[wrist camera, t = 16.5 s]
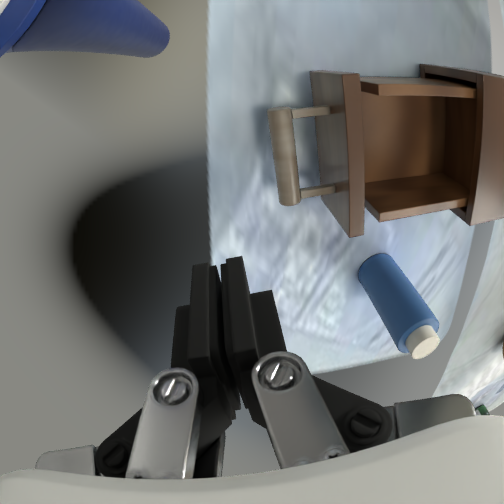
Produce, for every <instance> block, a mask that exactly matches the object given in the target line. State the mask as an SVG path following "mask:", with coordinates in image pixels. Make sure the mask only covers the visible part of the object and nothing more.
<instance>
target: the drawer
mask: <svg viewBox="0 0 504 504" xmlns="http://www.w3.org/2000/svg"><path fill="white" fill-rule="evenodd" d="M309 73H310V81H311V89H312V97H313V106H314V107H304V108H296V109H291V108H290V107H274V108H270V109H268V110H267V116H268V123H269V130H270V136H271V144H272V151H273V158H274V165H275V173H276V180H277V188H278V196H279V202H280V204H281V205H284V206H293V205H296V204H298V203H300V201H301V198H302V199H303V198H308V197H314V196H320V195H321V200H322V201H323V202H324V204H325V205H326V206H327V208H328V209H329V210H330V212H331V213H332V214H333V216H334V217H335V219H336V220H337V221H338V223H339V224H340V225H341V227H342V228H343V230H344V231H345V232H346V234H347V235H348V237H349V238H351V237H356V236H361V235H364V206H365V208H366V209H367V210H368V211H369V212H370V213H371V214H372V215H373V216H374V217H375V218H376V219H377V220H378V222H383V221H389V220H394V219H399V218H405V217H410V216H415V215H421V214H426V213H431V212H437V211H442V210H447V209H453V208H458V207H464V206H468V200H469V193H470V186H471V178H472V170H473V161H474V150H475V137H476V116H477V87H475V86H471V85H467V84H463V83H459V82H454V81H449V80H443V79H430V78H412V77H360V75H359V74H358V73H349V72H339V71H328V70H317V71H310V72H309ZM311 116H315V125H316V136H317V147H318V159H319V172H320V185H319V186H312V187H306V188H300V186H299V175H298V166H297V156H296V147H295V139H294V130H293V122H292V118H293V119H294V118H302V117H311Z"/></svg>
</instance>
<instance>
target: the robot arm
mask: <svg viewBox="0 0 504 504" xmlns="http://www.w3.org/2000/svg"><path fill="white" fill-rule="evenodd" d="M9 1H10V0H0V15H1V13H2V12H3V10H4V9H5V7H6V6H7V5H8V3H9ZM174 327H175V328H174V337H173V347H172V359H171V368H169V369H167V370H164V371H162V372H160V373H159V374H158V375H156V376H155V377H154V379H153V380H152V381H151V383H150V385H149V387H148V391H147V394H146V398H145V402H144V405H143V408H142V409H140V410H139V411H138V412H137V413H136V414H134V415H133V416H132V417H131V418H130V419H129V420H128V421H126V422H125V423H124V424H123V425H122V426H121V427H119V428H118V429H117V430H116V431H115V432H114V433H112V434H111V435H110V436H109V437H108V438H107V439H105V440H104V441H103V442H102V443H101V445H100V446H99V447H95V446H94V445H88V446H83V447H77V448H71V449H64V450H58V451H49V452H46V453H44V454H42V455H41V456H40V457H39V458H38V460H37V462H36V467H35V469H22V470H17V471H12V472H9V473H6V474H4V475H1V476H0V504H504V417H503V416H495V415H479V416H476V413H475V409H474V406H473V404H472V402H471V401H470V400H469V399H468V398H467V397H465V396H463V395H460V394H450V395H445V396H439V397H434V398H427V399H422V400H414V401H407V402H400V403H395V404H394V406H388V407H382V406H381V405H379V404H377V403H374V402H372V401H369V400H367V399H365V398H362V397H360V396H358V395H355V394H353V393H351V392H348V391H346V390H344V389H341V388H339V387H337V386H335V385H332V384H330V383H328V382H326V381H323V380H321V379H319V378H317V377H315V376H312V375H311V373H310V371H309V369H308V367H307V365H306V363H305V362H304V361H303V359H302V358H301V357H299V356H298V355H296V354H294V353H290V352H287V350H286V346H285V342H284V337H283V333H282V329H281V325H280V321H279V317H278V313H277V309H276V305H275V301H274V297H273V293H272V290H268V291H263V292H258V293H252V294H250V291H249V286H248V282H247V277H246V272H245V267H244V262H243V258H242V256H239V257H234V258H229V259H226V263H225V264H221V281H220V277H219V274H218V270H217V267H216V265H215V266H210V263H209V262H207V263H202V264H197V265H193V268H192V281H191V295H190V305H185V306H179V307H177V309H176V317H175V326H174ZM239 392H240V394H239ZM240 395H241V397H242V400H243V403H244V405H245V408H246V409H247V408H248V409H249V412H250V415H251V418H252V420H253V421H254V422H256V423H257V424H259V425H261V426H262V427H264V428H266V429H267V432H268V435H269V438H270V441H271V443H272V446H273V449H274V452H275V455H276V457H277V460H278V463H279V466H280V468H281V469H280V470H274V471H267V472H261V473H253V474H246V475H237V476H227V477H222V468H223V457H224V447H225V430H226V429H227V428H228V427H229V426H230V425H231V424H232V420H234V419H236V414H235V410H240V409H241V404H240Z"/></svg>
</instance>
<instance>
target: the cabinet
mask: <svg viewBox="0 0 504 504" xmlns="http://www.w3.org/2000/svg"><path fill="white" fill-rule="evenodd" d="M420 78H430V79H443V80H449V81H454V82H459V83H463V84H467V85H471V86H475V87H477V116H476V137H475V150H474V161H473V170H472V178H471V186H470V193H469V200H468V206H464V207H458V208H453V209H450V210H451V211H452V212H454V213H455V214H456V215H457V216H458V217H460V218H461V219H462V220H463V221H465V222H466V223H467V224H468V225H469V226H472V225H476V224H480V223H484V222H489V221H493V220H497V219H501V218H504V76H501V75H496V74H491V73H486V72H481V71H475V70H468V69H462V68H454V67H446V66H437V65H427V64H420Z"/></svg>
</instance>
